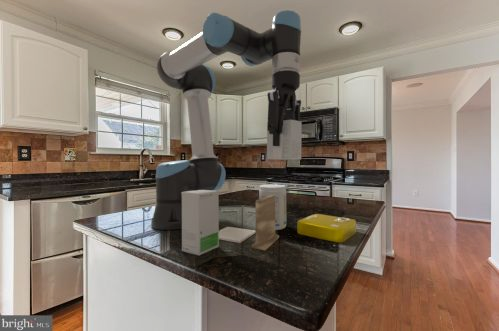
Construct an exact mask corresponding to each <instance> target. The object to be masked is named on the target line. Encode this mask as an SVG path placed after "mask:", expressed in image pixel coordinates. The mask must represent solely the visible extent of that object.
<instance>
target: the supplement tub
mask: <svg viewBox="0 0 499 331" xmlns="http://www.w3.org/2000/svg"><path fill="white" fill-rule="evenodd" d="M258 191H259V192H258V193H259V194H258V199H261V198H264V197H266V196H269V195H275V231H279V230H283V229H285V228H286V226H287V187H286V185H285V184H274V183H273V184H271V183H269V184H261V185H259V190H258Z"/></svg>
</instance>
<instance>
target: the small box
mask: <svg viewBox="0 0 499 331" xmlns="http://www.w3.org/2000/svg"><path fill="white" fill-rule="evenodd" d="M302 124H303V123H302V121H301V120H300V121H296V120H286V119H284V121H283V126H282V132H281V134H283V159H275V160H279V161H280V160H281V161H283V160H284V161H288V160H289V161H292V160H293V161H295V160H302V138H303V137H302V134H303V132H302V130H303V129H302ZM267 125H268V121H267V124H266V126H267ZM266 159H267V160H274V159H273V134H269V131H268V130H267V129H266Z"/></svg>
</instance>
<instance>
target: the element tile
mask: <svg viewBox="0 0 499 331" xmlns="http://www.w3.org/2000/svg"><path fill="white" fill-rule="evenodd" d="M296 224H297V226H296V227H297V228H296V229H297V231H296V232H297V234H299V235H302V236H307V237H310V238H315V239H319V240H325V241H328V242H334V243H344V242H346V241H347V240H348V239H350V238H352V236H353V235H355V234H356V233H357V228H356V227H357V221H356V220H355V219H353V218H348V217H340V216H334V215H328V214H321V213H315V214H311V215H309V216H306V217H303V218H301V219H299V220H297V222H296Z"/></svg>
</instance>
